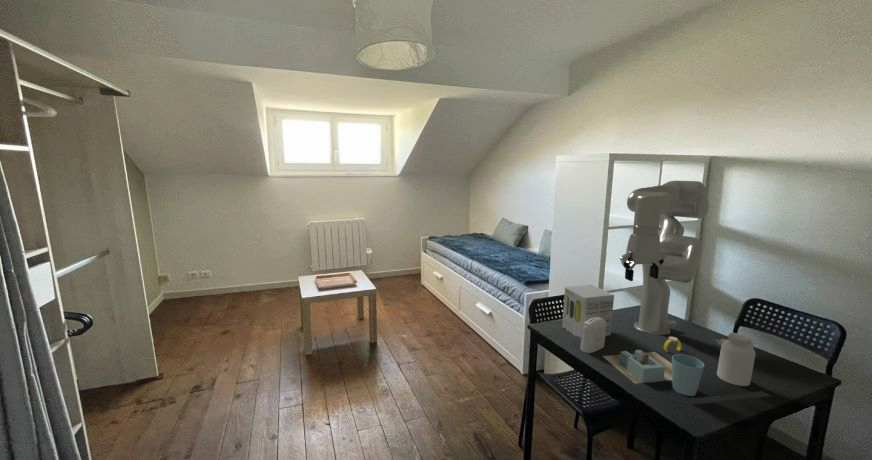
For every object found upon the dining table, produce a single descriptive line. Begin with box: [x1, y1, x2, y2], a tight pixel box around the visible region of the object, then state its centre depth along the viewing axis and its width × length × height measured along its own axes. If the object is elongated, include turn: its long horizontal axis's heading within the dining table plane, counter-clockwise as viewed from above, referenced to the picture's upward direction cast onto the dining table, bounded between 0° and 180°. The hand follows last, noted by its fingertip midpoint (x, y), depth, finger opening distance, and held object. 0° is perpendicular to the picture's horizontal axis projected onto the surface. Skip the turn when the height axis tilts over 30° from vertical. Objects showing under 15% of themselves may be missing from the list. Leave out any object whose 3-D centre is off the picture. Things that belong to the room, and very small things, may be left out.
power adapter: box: [711, 338, 755, 349], centre depth 127 cm, size 11×5×6 cm, turn 63°
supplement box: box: [562, 284, 615, 338], centre depth 141 cm, size 13×13×18 cm
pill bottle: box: [716, 332, 756, 387], centre depth 109 cm, size 8×8×15 cm
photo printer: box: [579, 317, 606, 354], centre depth 127 cm, size 10×4×12 cm, turn 123°
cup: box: [671, 353, 705, 400], centre depth 103 cm, size 8×8×10 cm
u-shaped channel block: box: [619, 349, 665, 384], centre depth 112 cm, size 10×7×4 cm
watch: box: [663, 336, 682, 353], centre depth 126 cm, size 6×3×6 cm, turn 98°
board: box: [602, 351, 672, 385], centre depth 116 cm, size 20×16×8 cm
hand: (641, 278), depth 125 cm, fingers open, 9 cm apart
